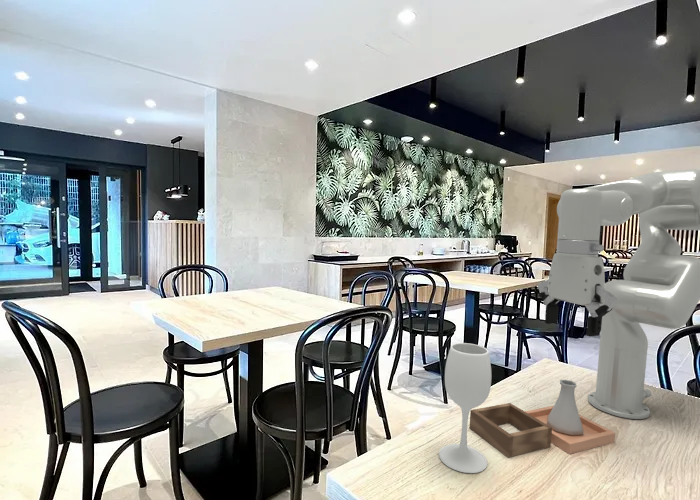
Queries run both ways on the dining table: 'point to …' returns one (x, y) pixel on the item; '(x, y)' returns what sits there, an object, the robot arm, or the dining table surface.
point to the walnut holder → (513, 444)
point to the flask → (566, 411)
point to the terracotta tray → (576, 443)
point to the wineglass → (466, 400)
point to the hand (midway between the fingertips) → (570, 329)
